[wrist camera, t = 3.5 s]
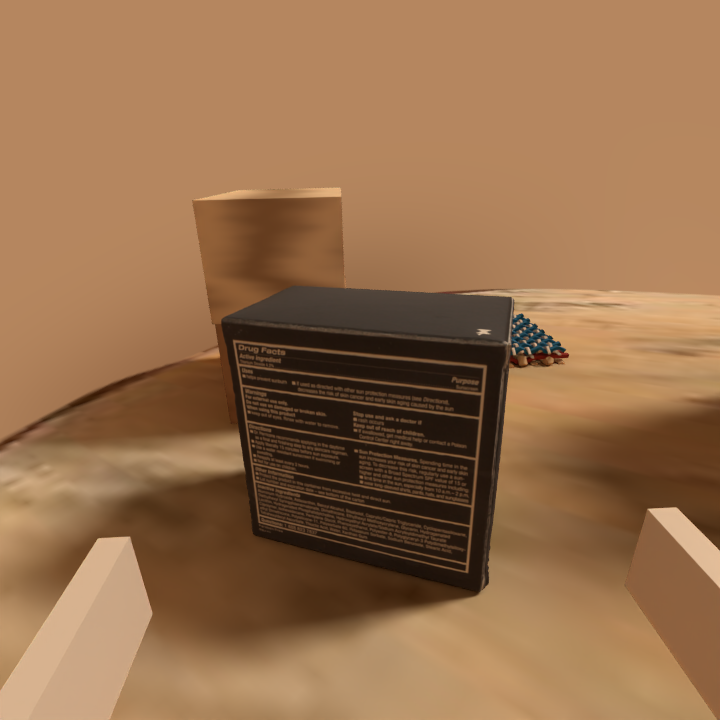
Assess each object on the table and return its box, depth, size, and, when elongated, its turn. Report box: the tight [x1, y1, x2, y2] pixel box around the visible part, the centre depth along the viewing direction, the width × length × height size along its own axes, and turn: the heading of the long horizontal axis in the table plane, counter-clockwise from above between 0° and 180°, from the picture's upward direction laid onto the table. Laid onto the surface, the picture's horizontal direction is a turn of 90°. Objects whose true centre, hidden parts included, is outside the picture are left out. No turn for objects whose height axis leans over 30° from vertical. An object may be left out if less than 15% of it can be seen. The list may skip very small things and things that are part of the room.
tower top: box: [193, 188, 345, 324], centre depth 31 cm, size 8×12×7 cm, turn 2°
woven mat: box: [509, 314, 569, 368], centre depth 41 cm, size 10×11×2 cm
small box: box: [221, 286, 514, 592], centre depth 20 cm, size 11×6×10 cm, turn 71°
